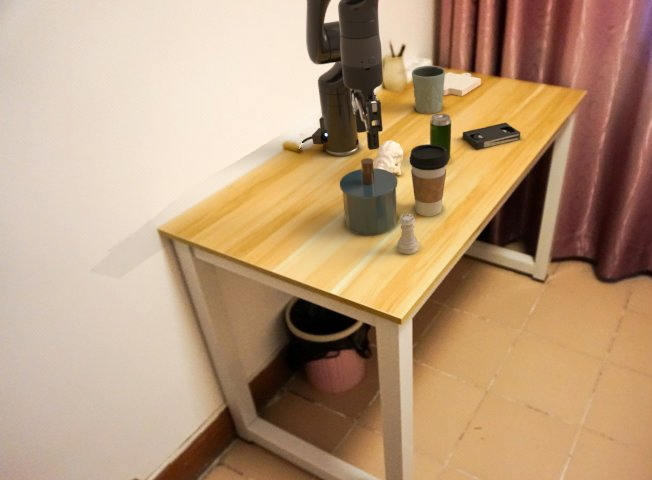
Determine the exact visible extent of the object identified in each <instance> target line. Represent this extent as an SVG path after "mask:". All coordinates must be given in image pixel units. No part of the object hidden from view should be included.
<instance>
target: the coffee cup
mask: <svg viewBox="0 0 652 480" xmlns="http://www.w3.org/2000/svg"><path fill="white" fill-rule="evenodd" d="M448 163H449V162H448V156H447V150H446V148H445V147H443V146H439V145H431V144H430V143H429V144H428V143H427V144H426V143H425V144H420V145H417V146H414V147H413V148H412V149H411V150H410V156H409V164H410V166H411V168H410V169H411V170H410V171H411V172H410V173H411V181H412V189H413V196H414V207H415V212H416V213H417V214H419V215H421V216H424V217H434V216H437V215H439V214H440V213H441V211H442V207H443V198H444V191H445V184H446V175H447V168H446V167H447V165H448Z"/></svg>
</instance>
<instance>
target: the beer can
mask: <svg viewBox="0 0 652 480" xmlns="http://www.w3.org/2000/svg"><path fill="white" fill-rule="evenodd" d="M429 144H431V145H439V146H443V147H445V148H446V150H447V156H448V163H449V162H450V160H451V145H452V119H451V116H450V115H449V114H447V113H434V114H433V115H431V116H430V121H429Z"/></svg>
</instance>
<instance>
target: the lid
mask: <svg viewBox="0 0 652 480" xmlns="http://www.w3.org/2000/svg"><path fill="white" fill-rule="evenodd" d="M360 167H361V168H360V169H359V168H358V169H355V170H353V171H350V172H348V173H346V174H345V175H344V176H342V177H341V179H340V181H339V188H340V191H341V192H342V194H343V193H345V194H346V195H348V196H351V197H354V198H359V199H373V198H379V197H382V196H385V195H387V194H389V193H391V192H392V191H394V190H395V188H396V189H397V186H398V178H397V176H396V174H395V173H391V172H389V171H387V170H383V169H378V168H374V159H372V158H370V157H366V158H365V157H364V158H362V159H361V160H360Z"/></svg>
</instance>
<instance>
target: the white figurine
mask: <svg viewBox="0 0 652 480" xmlns="http://www.w3.org/2000/svg"><path fill="white" fill-rule="evenodd" d="M404 153H405V151H404V150H403V149H402V146H401V145H400V143H398V142H396V141H394V140H393V139H392V140H385V141H384V142H382V143H381V145H379V148H378V149H377V156H376V158H375V160H374V161H373V164H374V168H378V169H383V170H387V171H389V172H391V173H393V174H395V175H397V176H401V175H402V170H401V167H402V162H403V160H404Z"/></svg>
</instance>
